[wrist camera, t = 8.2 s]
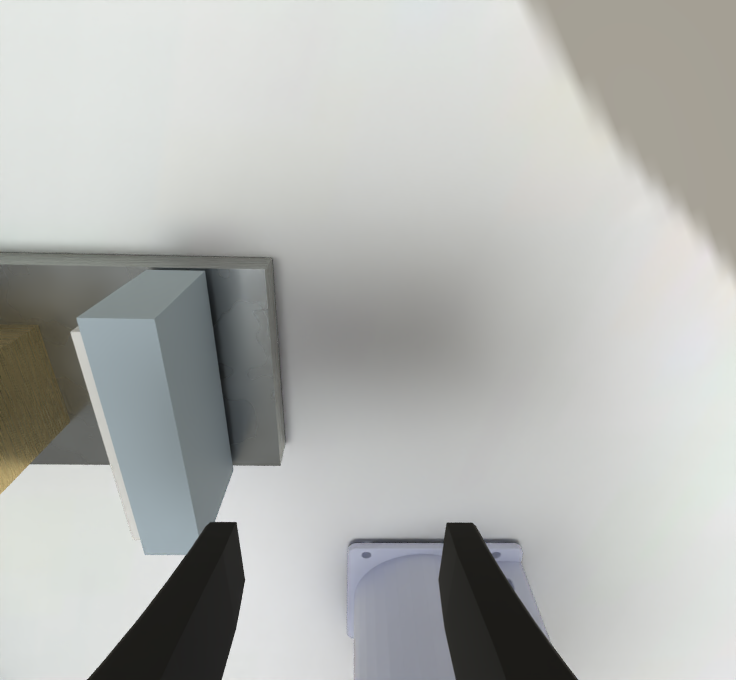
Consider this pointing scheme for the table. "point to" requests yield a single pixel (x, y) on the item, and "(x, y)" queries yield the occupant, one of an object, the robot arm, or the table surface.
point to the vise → (230, 325)
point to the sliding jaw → (159, 404)
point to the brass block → (26, 400)
